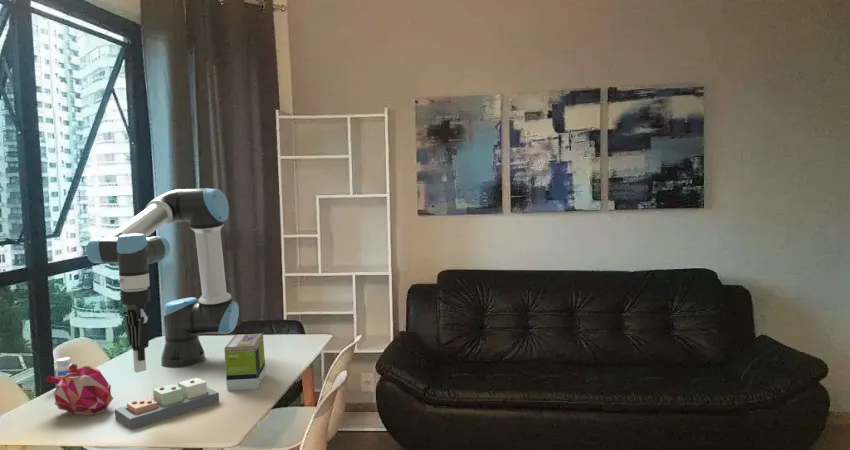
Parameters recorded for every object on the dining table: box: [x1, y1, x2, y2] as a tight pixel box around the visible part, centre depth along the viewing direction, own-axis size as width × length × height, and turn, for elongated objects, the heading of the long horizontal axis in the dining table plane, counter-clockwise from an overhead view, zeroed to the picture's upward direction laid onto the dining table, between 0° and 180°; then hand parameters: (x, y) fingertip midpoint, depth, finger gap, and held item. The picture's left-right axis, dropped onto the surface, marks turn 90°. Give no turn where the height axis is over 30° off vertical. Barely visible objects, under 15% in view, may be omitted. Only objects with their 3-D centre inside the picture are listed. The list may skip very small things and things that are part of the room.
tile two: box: [152, 383, 183, 407], centre depth 178 cm, size 6×6×4 cm
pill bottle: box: [54, 356, 72, 388], centre depth 199 cm, size 6×5×10 cm
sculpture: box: [45, 363, 114, 416], centre depth 179 cm, size 14×12×20 cm
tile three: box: [126, 397, 157, 415], centre depth 172 cm, size 6×6×4 cm
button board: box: [114, 386, 220, 430], centre depth 178 cm, size 11×26×3 cm, turn 137°
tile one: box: [177, 377, 208, 399], centre depth 183 cm, size 6×6×4 cm
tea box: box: [224, 333, 267, 392], centre depth 201 cm, size 15×10×15 cm, turn 5°
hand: (140, 370), depth 172 cm, fingers closed
